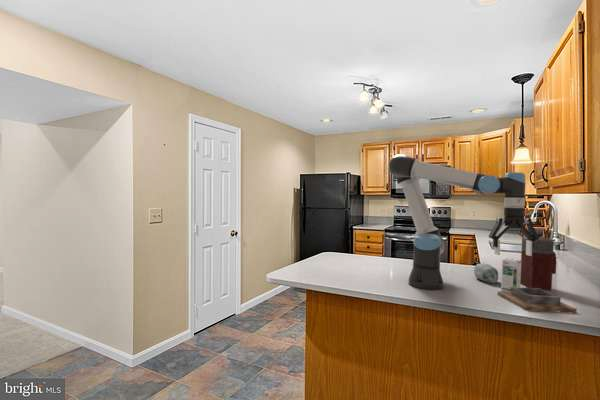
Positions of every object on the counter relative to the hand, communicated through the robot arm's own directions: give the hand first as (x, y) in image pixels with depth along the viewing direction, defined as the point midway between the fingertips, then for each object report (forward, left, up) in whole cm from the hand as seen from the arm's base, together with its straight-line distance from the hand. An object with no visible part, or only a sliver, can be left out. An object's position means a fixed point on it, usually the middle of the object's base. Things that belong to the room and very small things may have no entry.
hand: (512, 254), depth 138 cm
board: (0, -15, -16) cm, 22 cm away
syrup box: (0, 0, -17) cm, 17 cm away
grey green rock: (-2, +17, -17) cm, 24 cm away
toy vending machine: (+18, +9, -17) cm, 26 cm away
